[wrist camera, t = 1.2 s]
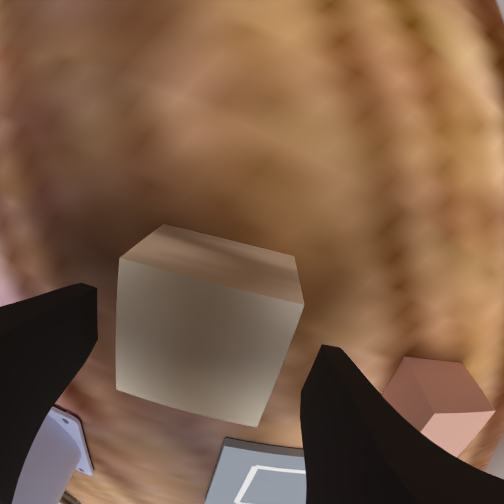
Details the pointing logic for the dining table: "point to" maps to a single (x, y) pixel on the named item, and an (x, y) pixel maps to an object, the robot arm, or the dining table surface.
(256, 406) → the base block
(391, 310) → the dining table surface
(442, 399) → the top block
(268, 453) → the base plate
